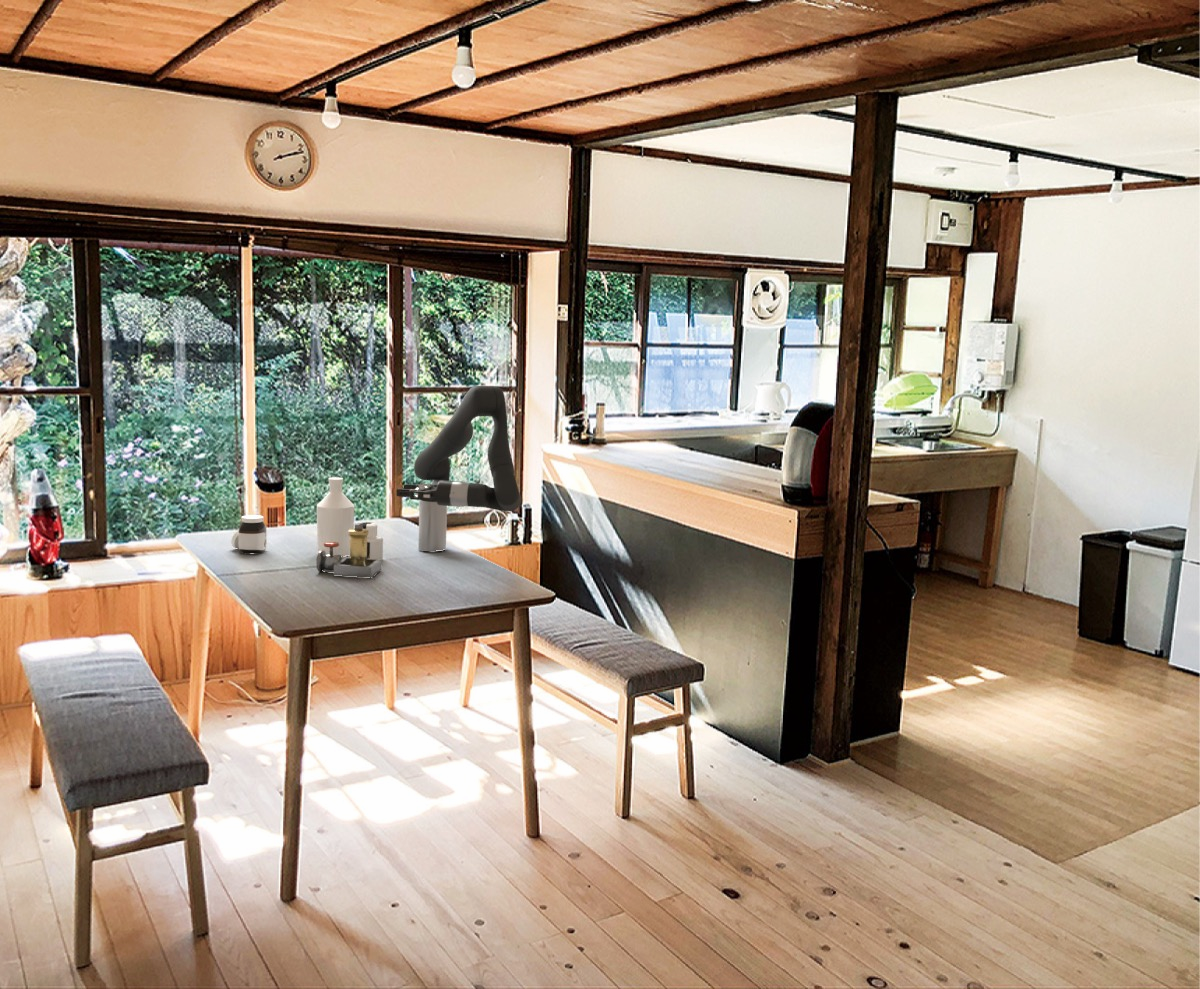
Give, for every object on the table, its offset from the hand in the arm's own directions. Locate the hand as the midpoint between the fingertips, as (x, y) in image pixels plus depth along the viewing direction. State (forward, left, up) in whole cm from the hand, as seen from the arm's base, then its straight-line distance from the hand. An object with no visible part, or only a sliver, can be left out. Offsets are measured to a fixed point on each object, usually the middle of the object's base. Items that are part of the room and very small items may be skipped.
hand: (400, 490), depth 318 cm
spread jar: (-31, -50, -27) cm, 65 cm away
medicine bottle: (-21, -11, -26) cm, 36 cm away
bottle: (-29, -22, -26) cm, 45 cm away
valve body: (-2, -12, -26) cm, 29 cm away
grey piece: (-2, -15, -26) cm, 31 cm away
